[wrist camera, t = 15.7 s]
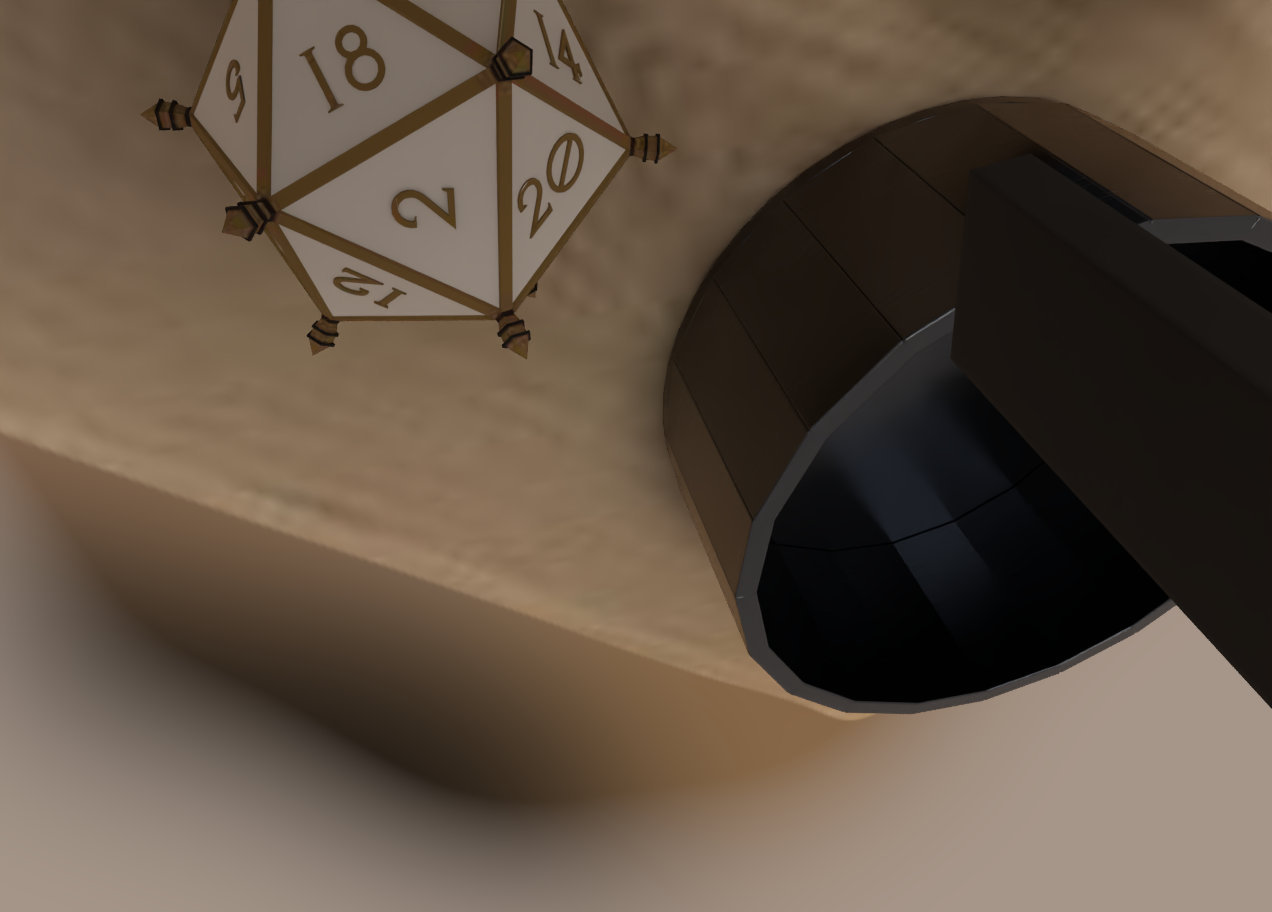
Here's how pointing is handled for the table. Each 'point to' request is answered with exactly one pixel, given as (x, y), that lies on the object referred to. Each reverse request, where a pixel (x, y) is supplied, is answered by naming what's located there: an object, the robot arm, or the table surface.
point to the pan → (910, 419)
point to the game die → (409, 149)
